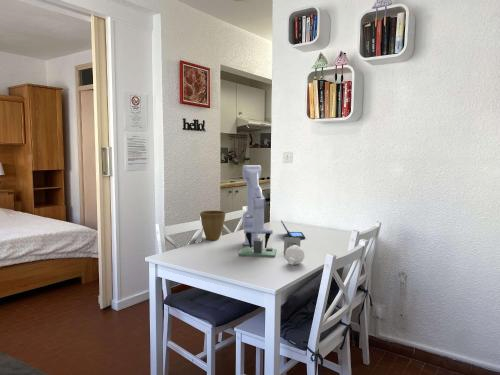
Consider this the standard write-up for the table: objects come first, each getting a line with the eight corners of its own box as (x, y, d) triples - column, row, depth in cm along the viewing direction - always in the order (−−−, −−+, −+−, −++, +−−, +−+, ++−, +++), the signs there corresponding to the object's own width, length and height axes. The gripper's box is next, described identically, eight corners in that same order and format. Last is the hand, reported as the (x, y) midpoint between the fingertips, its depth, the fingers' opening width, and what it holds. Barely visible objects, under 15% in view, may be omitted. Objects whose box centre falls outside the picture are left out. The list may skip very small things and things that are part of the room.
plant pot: (221, 242, 218) (221, 214, 216) (196, 241, 221) (196, 213, 219) (228, 236, 232) (228, 210, 231) (204, 235, 235) (204, 209, 234)
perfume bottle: (285, 256, 184) (279, 266, 173) (290, 239, 181) (285, 248, 170) (302, 262, 182) (297, 273, 171) (308, 246, 179) (303, 256, 168)
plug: (254, 249, 199) (255, 238, 198) (262, 249, 198) (262, 238, 198) (253, 252, 193) (253, 240, 192) (261, 253, 192) (261, 241, 192)
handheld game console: (305, 239, 226) (305, 224, 225) (282, 239, 226) (283, 224, 225) (301, 233, 242) (302, 219, 241) (280, 233, 242) (280, 219, 241)
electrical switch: (283, 253, 195) (283, 237, 195) (284, 252, 199) (284, 236, 199) (300, 254, 193) (300, 238, 193) (300, 253, 198) (301, 237, 198)
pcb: (242, 249, 203) (242, 242, 203) (276, 250, 201) (276, 244, 200) (238, 255, 191) (238, 248, 191) (274, 257, 189) (275, 250, 188)
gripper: (243, 222, 191) (242, 249, 193) (272, 223, 189) (271, 250, 191) (245, 219, 198) (245, 245, 200) (273, 220, 196) (272, 246, 198)
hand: (258, 247), depth 196 cm, fingers open, 7 cm apart
